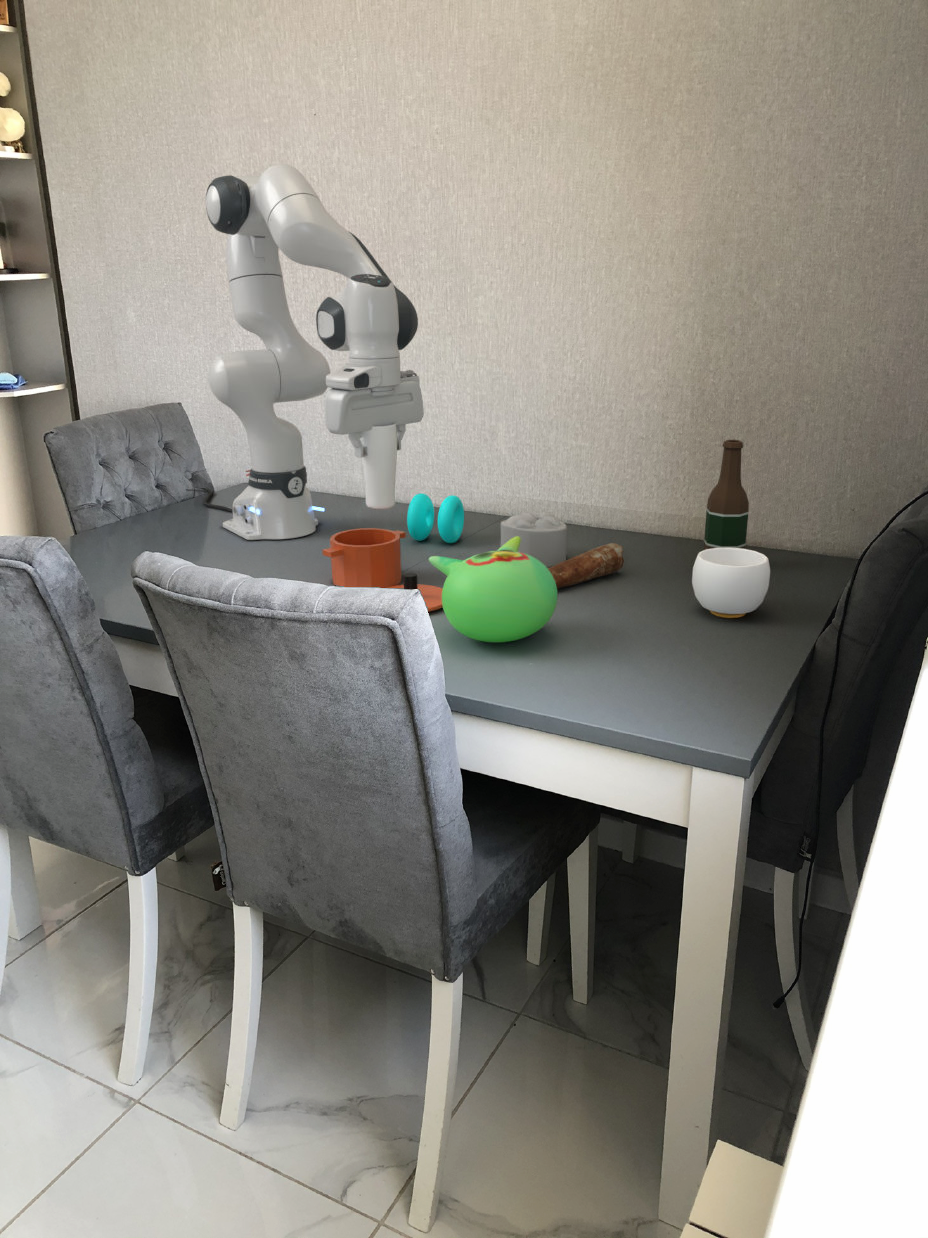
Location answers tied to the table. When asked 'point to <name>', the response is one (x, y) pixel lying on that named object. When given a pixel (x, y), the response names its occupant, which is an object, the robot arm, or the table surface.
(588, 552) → the cassava root
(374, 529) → the pot
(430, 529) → the donuts
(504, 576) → the toy bird
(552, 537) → the lumpy-topped squat cylinder
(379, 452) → the drinking glass
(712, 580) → the cup
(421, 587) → the lid
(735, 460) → the beer bottle
